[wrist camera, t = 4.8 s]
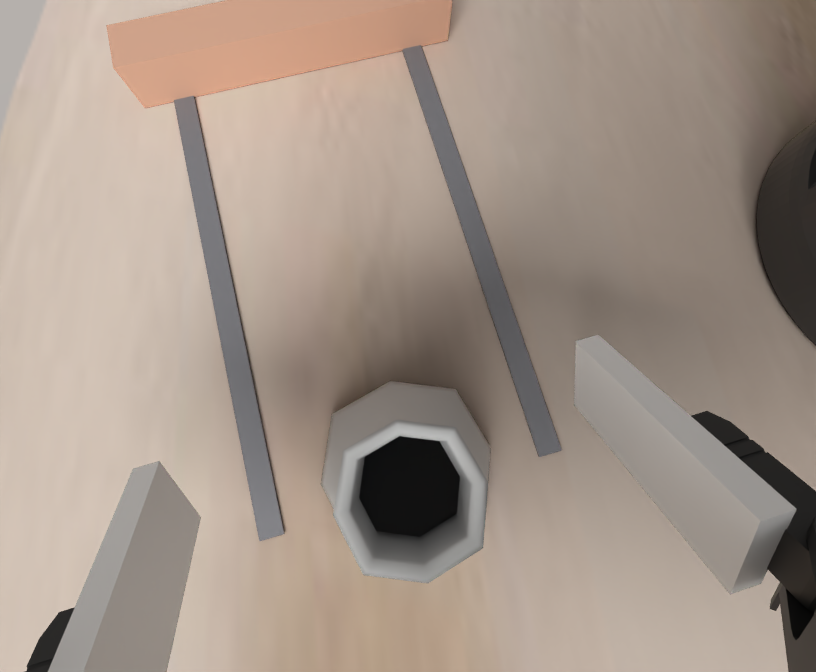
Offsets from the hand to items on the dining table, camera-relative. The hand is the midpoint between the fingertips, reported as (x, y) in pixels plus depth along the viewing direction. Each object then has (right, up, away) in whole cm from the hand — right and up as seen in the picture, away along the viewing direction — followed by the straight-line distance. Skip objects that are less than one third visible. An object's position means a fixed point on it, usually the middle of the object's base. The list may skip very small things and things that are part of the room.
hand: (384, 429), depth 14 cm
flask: (+1, -3, +5) cm, 6 cm away
